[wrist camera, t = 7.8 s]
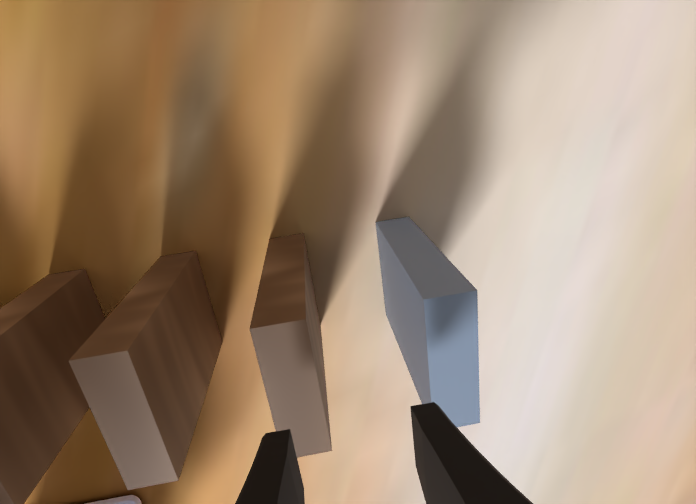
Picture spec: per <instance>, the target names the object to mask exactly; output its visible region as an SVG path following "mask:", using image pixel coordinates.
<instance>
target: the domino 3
mask: <svg viewBox="0 0 696 504" xmlns="http://www.w3.org/2000/svg"><path fill="white" fill-rule="evenodd" d="M250 332H251V336H252V340H253V344H254V347H255V351H256V355H257V359H258V363H259V367H260V371H261V375H262V379H263V383H264V386H265V390H266V394H267V398H268V402H269V406H270V410H271V414H272V418H273V422H274V425H275V429H276V431H281V430H287V429H290V430H291V435H292V439H293V443H294V448H295V452H296V457H302V456H307V455H312V454H317V453H323V452H328V451H332V447H331V436H330V425H329V414H328V403H327V392H326V381H325V370H324V359H323V348H322V337H321V326H320V320H319V315H318V309H317V304H316V298H315V293H314V287H313V282H312V276H311V271H310V265H309V260H308V254H307V249H306V243H305V238H304V233H302V234H296V235H290V236H283V237H277V238H271V239H269V243H268V248H267V252H266V257H265V262H264V266H263V271H262V275H261V280H260V284H259V289H258V294H257V298H256V303H255V307H254V312H253V316H252V321H251V325H250Z"/></svg>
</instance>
